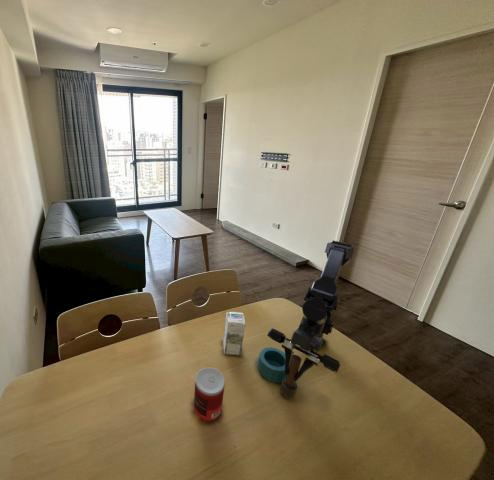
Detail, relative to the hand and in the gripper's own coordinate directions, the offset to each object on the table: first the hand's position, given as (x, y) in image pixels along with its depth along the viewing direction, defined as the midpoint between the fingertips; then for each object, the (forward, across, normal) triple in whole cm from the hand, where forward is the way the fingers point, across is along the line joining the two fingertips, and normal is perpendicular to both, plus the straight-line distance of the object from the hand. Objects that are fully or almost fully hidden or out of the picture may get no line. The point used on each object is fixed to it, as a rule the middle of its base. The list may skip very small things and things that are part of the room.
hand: (290, 378), depth 70 cm
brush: (+4, 0, +6) cm, 7 cm away
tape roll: (+1, -7, +10) cm, 12 cm away
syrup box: (+2, -21, +9) cm, 23 cm away
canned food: (+18, -15, -7) cm, 25 cm away
